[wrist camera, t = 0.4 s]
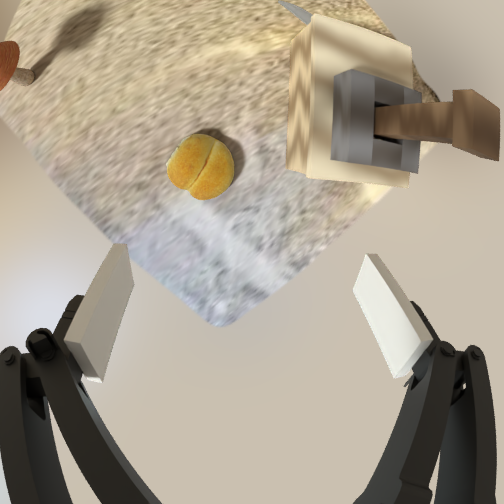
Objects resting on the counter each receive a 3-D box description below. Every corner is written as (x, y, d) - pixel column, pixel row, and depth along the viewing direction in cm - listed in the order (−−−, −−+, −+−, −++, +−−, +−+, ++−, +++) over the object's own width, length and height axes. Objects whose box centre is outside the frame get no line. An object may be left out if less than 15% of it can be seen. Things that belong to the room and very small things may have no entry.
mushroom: (59, 73, 27) (5, 50, 13) (25, 112, 27) (-35, 107, 14) (40, 47, 23) (-11, 21, 10) (8, 84, 24) (-48, 73, 10)
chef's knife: (281, -10, 28) (270, -2, 28) (283, -13, 27) (272, -6, 27) (367, 67, 35) (359, 77, 35) (371, 66, 34) (362, 75, 34)
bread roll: (213, 207, 39) (214, 213, 36) (159, 174, 36) (155, 177, 32) (246, 159, 38) (251, 160, 34) (193, 124, 34) (192, 121, 31)
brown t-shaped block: (354, 103, 27) (472, 89, 11) (384, 110, 28) (499, 108, 12) (353, 138, 29) (472, 149, 13) (382, 144, 29) (498, 161, 14)
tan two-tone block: (288, 39, 31) (328, 0, 18) (372, 60, 34) (429, 42, 21) (283, 170, 39) (325, 183, 26) (368, 177, 42) (427, 194, 29)
